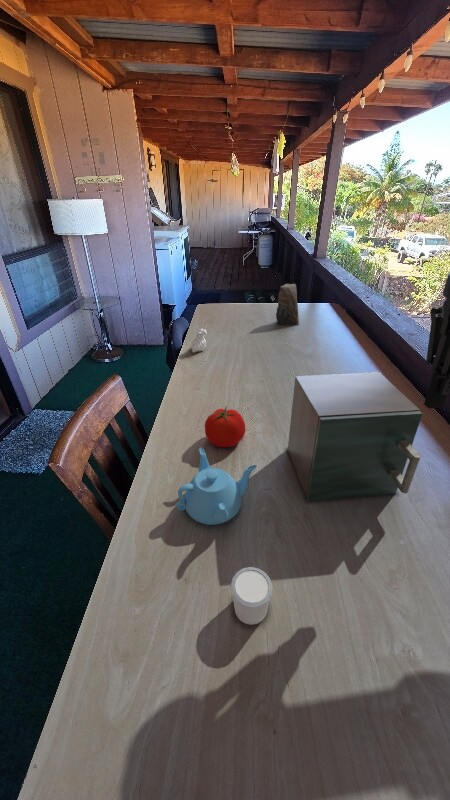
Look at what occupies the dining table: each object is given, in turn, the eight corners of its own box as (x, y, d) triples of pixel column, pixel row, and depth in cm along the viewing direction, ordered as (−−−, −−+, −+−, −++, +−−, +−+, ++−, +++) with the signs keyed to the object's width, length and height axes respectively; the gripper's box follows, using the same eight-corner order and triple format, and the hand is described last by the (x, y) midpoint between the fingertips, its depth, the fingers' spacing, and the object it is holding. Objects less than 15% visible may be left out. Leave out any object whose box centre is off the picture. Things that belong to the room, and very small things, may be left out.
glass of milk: (222, 608, 61) (222, 585, 58) (249, 582, 66) (250, 559, 62) (252, 639, 57) (253, 616, 54) (278, 609, 61) (281, 585, 58)
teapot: (168, 515, 79) (164, 482, 74) (204, 475, 90) (202, 443, 85) (224, 543, 73) (224, 509, 68) (255, 495, 84) (257, 463, 79)
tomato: (236, 426, 109) (236, 398, 104) (251, 448, 100) (252, 418, 94) (199, 435, 105) (197, 406, 100) (212, 458, 96) (210, 427, 91)
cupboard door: (408, 513, 79) (440, 429, 67) (315, 522, 77) (331, 437, 65) (393, 491, 85) (420, 410, 73) (306, 498, 83) (319, 417, 71)
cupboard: (392, 491, 85) (419, 409, 73) (306, 498, 83) (318, 416, 71) (361, 445, 100) (379, 371, 88) (287, 450, 99) (295, 376, 86)
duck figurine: (196, 359, 157) (210, 341, 152) (183, 349, 156) (197, 330, 150) (203, 349, 167) (216, 332, 162) (190, 339, 166) (203, 322, 160)
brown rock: (275, 325, 191) (277, 287, 180) (274, 318, 201) (276, 282, 191) (298, 325, 190) (302, 288, 179) (296, 318, 200) (300, 282, 190)
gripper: (427, 265, 58) (395, 390, 70) (487, 283, 47) (435, 427, 59) (470, 263, 58) (430, 387, 70) (538, 280, 47) (477, 424, 59)
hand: (433, 405), depth 65 cm, fingers closed
